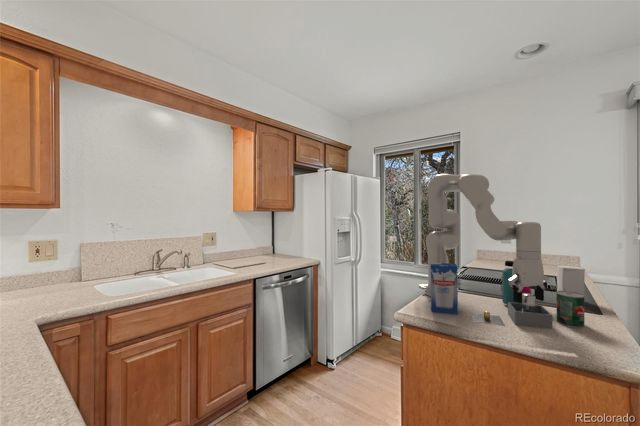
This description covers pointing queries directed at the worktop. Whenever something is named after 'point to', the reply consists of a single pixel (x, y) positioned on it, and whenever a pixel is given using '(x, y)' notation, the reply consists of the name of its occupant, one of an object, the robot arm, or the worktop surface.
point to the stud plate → (492, 319)
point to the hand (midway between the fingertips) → (528, 300)
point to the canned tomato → (570, 309)
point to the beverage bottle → (506, 289)
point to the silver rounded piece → (528, 303)
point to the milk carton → (444, 288)
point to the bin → (530, 316)
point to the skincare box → (570, 279)
